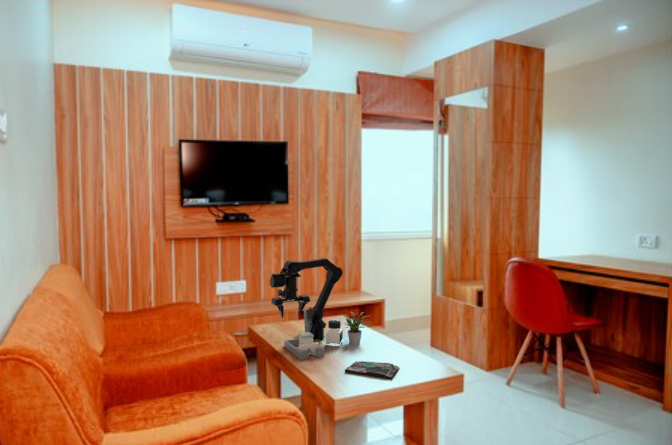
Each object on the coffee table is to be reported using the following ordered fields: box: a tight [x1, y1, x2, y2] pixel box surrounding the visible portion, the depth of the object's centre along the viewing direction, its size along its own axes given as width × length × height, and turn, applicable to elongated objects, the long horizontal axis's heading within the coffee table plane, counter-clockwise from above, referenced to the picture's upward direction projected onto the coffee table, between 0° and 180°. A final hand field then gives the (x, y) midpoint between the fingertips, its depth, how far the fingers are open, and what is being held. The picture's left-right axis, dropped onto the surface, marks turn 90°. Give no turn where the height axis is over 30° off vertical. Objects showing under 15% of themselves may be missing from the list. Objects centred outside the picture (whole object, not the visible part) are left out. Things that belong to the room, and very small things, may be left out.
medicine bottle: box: [325, 319, 344, 345], centre depth 239 cm, size 7×7×12 cm
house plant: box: [344, 311, 371, 346], centre depth 241 cm, size 14×14×16 cm
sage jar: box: [298, 331, 314, 346], centre depth 225 cm, size 5×5×9 cm
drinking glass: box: [303, 308, 312, 332], centre depth 257 cm, size 10×10×12 cm
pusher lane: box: [283, 337, 326, 360], centre depth 228 cm, size 21×12×4 cm, turn 26°
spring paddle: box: [298, 341, 320, 356], centre depth 220 cm, size 8×9×5 cm
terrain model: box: [344, 360, 401, 381], centre depth 205 cm, size 20×15×3 cm
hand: (290, 316), depth 240 cm, fingers open, 9 cm apart
